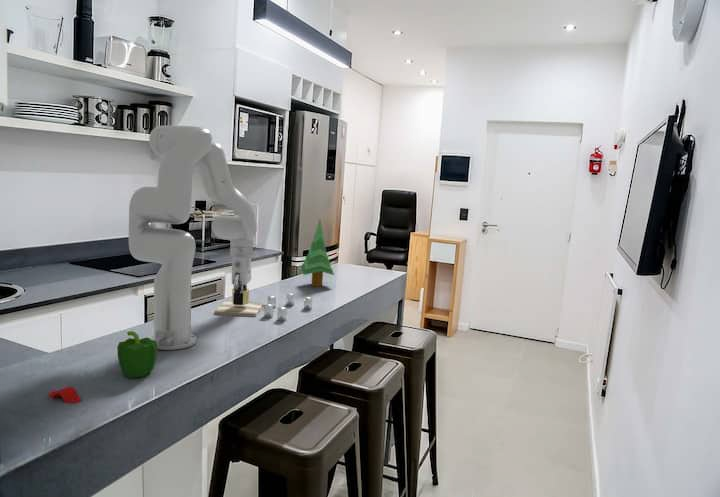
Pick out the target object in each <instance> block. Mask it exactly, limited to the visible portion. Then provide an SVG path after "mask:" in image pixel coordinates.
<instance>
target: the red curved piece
mask: <svg viewBox="0 0 720 497" xmlns="http://www.w3.org/2000/svg"><path fill="white" fill-rule="evenodd" d="M48 397H50V398H51V399H52V400H53V399H56V398H59V397H61V398H62V400H63V403H66V404H67V403H69V404H77V403H79V402H81V401H82V397H80V396H79V394H78V392H77V391H76V389H75V387H73V386H70V385H69V386H66V387H63V388H61V389H59V390H54V391H50V392H49V393H48Z"/></svg>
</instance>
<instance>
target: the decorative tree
mask: <svg viewBox="0 0 720 497" xmlns="http://www.w3.org/2000/svg"><path fill="white" fill-rule="evenodd" d="M318 220H319V221H318V223H317V226H316V229H315V231H314V235H313V241H312V243H311V245H310V248H309V250H308V253H307V255H306V256H305V259H304V260H303V263H302V264H301V265H300V267H301V271H302V275H310V274H311V286H312V287H317V288H318V287H323V280H324V279H323V278H324V273H325V274H329V275H333V276H334V275H335V272H334V270H333V268H332V265H331V262H330V259H329V257H328V254H327V253H328V252H327V249H326V245H325V238H324V232H323V227H322V221H321V218H319V219H318Z"/></svg>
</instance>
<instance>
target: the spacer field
mask: <svg viewBox="0 0 720 497" xmlns="http://www.w3.org/2000/svg"><path fill="white" fill-rule="evenodd" d="M285 296H286V298H285V306H278V307H277V296H276V295H273V294H272V295H271V294H270V295H269V294H268V295H267V303H264V306H263V317H264V318H267V319H269V318H271V319H272V318H273V317H274V309H275V308H277V317H276V320H277V321H279V322H285V321H287V316H288V315H287V314H288V312H287V311H288V310H287V309H288V307H286V306H291V307H292V306H294V305H295V293H293V292H289V293H286V294H285ZM303 309H304V310H308V311H309V310H312V309H313V297H312V296H304V297H303Z"/></svg>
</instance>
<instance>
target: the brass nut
mask: <svg viewBox="0 0 720 497" xmlns="http://www.w3.org/2000/svg"><path fill="white" fill-rule="evenodd" d="M249 292H250V289H249V288H248V287H247V288H243V291H242V293H243V304H242V305H246V304H248V302H249V301H250V300H249V295H250V294H249ZM233 296H234V287H233V288H232V289H231V301H232V303H233Z"/></svg>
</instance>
